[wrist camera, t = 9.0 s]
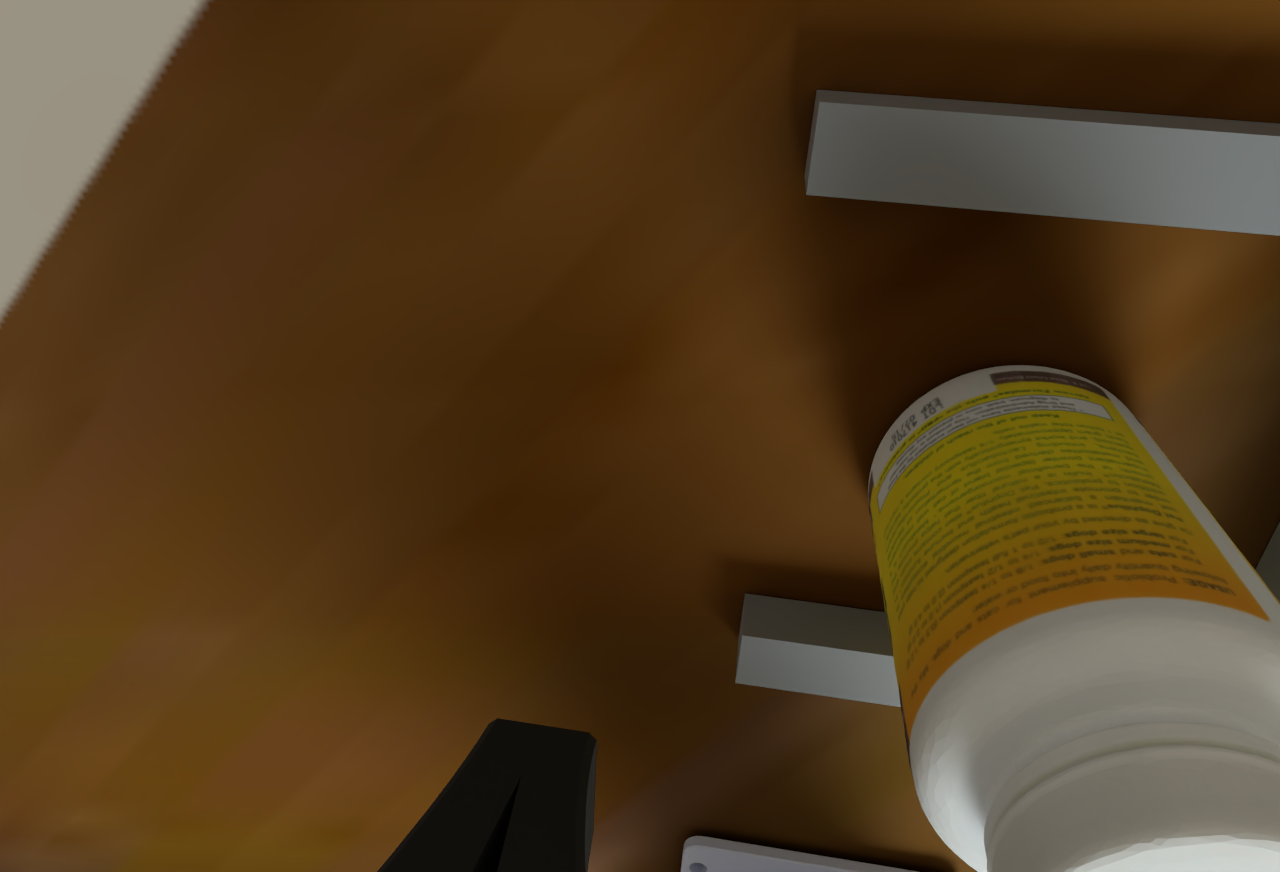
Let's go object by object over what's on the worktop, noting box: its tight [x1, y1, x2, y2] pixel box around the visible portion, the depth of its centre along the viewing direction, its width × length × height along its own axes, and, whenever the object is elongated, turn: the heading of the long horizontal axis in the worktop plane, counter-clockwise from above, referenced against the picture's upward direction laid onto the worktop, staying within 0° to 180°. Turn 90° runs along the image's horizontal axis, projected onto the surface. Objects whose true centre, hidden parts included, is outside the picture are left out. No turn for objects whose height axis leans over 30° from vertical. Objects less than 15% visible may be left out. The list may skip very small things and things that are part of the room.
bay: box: [735, 90, 1280, 707], centre depth 16 cm, size 13×12×5 cm
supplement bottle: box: [868, 365, 1280, 872], centre depth 14 cm, size 6×6×10 cm
